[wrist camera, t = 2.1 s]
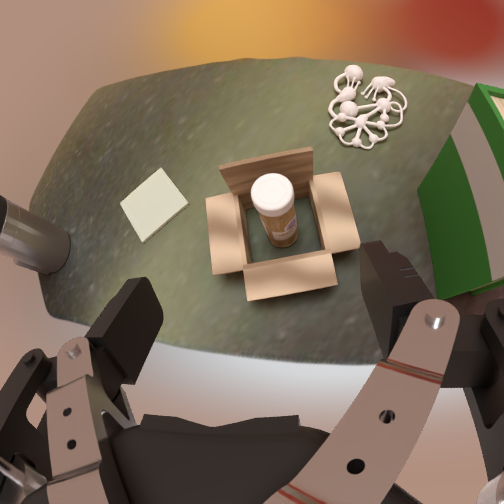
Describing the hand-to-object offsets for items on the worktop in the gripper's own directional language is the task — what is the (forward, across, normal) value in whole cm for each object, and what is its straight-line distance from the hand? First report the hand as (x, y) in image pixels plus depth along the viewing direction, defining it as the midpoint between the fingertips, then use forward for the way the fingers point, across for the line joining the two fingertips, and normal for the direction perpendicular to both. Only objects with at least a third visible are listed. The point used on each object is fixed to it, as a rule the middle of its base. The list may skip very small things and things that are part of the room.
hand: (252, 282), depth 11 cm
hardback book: (+28, +25, -16) cm, 41 cm away
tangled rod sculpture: (+47, +19, +3) cm, 50 cm away
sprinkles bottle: (+31, -1, -12) cm, 33 cm away
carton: (+29, -1, -13) cm, 32 cm away
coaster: (+37, -22, -5) cm, 43 cm away
